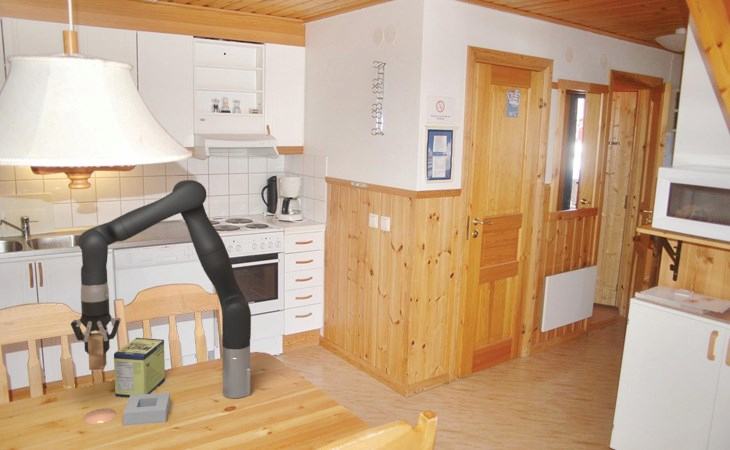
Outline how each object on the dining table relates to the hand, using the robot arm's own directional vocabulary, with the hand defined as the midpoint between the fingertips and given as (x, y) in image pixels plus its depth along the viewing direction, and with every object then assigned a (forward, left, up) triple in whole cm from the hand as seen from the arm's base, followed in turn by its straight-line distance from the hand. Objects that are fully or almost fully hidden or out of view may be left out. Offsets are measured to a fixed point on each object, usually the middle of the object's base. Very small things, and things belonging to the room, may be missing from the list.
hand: (97, 352), depth 171 cm
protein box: (-9, -19, -22) cm, 30 cm away
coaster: (0, 0, -21) cm, 21 cm away
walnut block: (0, 0, -5) cm, 5 cm away
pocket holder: (-14, +1, -21) cm, 26 cm away
